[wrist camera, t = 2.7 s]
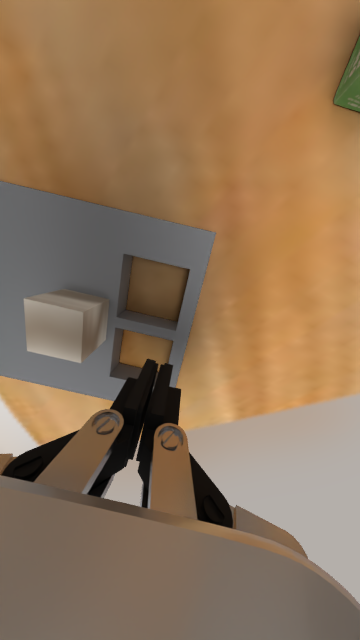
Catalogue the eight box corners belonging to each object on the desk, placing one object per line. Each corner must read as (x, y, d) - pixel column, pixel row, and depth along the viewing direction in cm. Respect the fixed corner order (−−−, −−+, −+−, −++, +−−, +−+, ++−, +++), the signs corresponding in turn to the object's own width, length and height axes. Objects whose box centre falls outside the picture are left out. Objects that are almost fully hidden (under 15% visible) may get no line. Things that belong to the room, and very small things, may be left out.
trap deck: (-19, 181, 16) (-111, 146, 11) (212, 236, 16) (221, 227, 11) (2, 358, 21) (-52, 386, 17) (171, 396, 22) (165, 434, 17)
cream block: (64, 288, 16) (23, 298, 12) (109, 299, 16) (83, 312, 12) (63, 330, 17) (26, 351, 13) (105, 339, 17) (81, 363, 13)
